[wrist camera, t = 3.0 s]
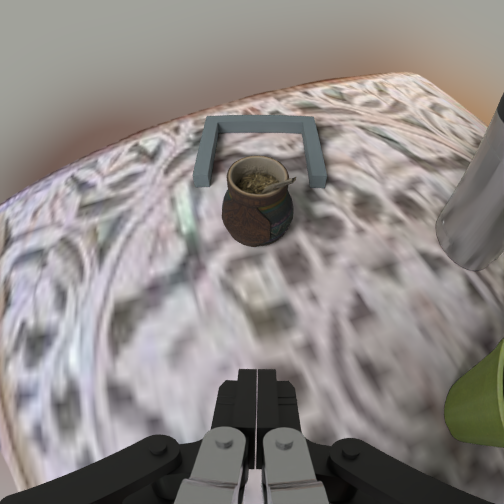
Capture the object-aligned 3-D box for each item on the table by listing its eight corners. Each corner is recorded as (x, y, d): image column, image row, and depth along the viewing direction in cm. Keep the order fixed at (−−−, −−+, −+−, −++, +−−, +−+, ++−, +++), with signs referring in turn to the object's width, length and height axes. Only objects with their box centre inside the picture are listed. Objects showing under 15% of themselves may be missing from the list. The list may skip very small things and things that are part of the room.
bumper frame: (312, 127, 44) (313, 116, 43) (324, 187, 37) (327, 176, 35) (208, 126, 45) (206, 116, 43) (195, 187, 38) (192, 175, 36)
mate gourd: (248, 193, 37) (247, 123, 28) (305, 222, 34) (318, 152, 26) (210, 234, 34) (197, 164, 25) (270, 269, 31) (276, 201, 23)
